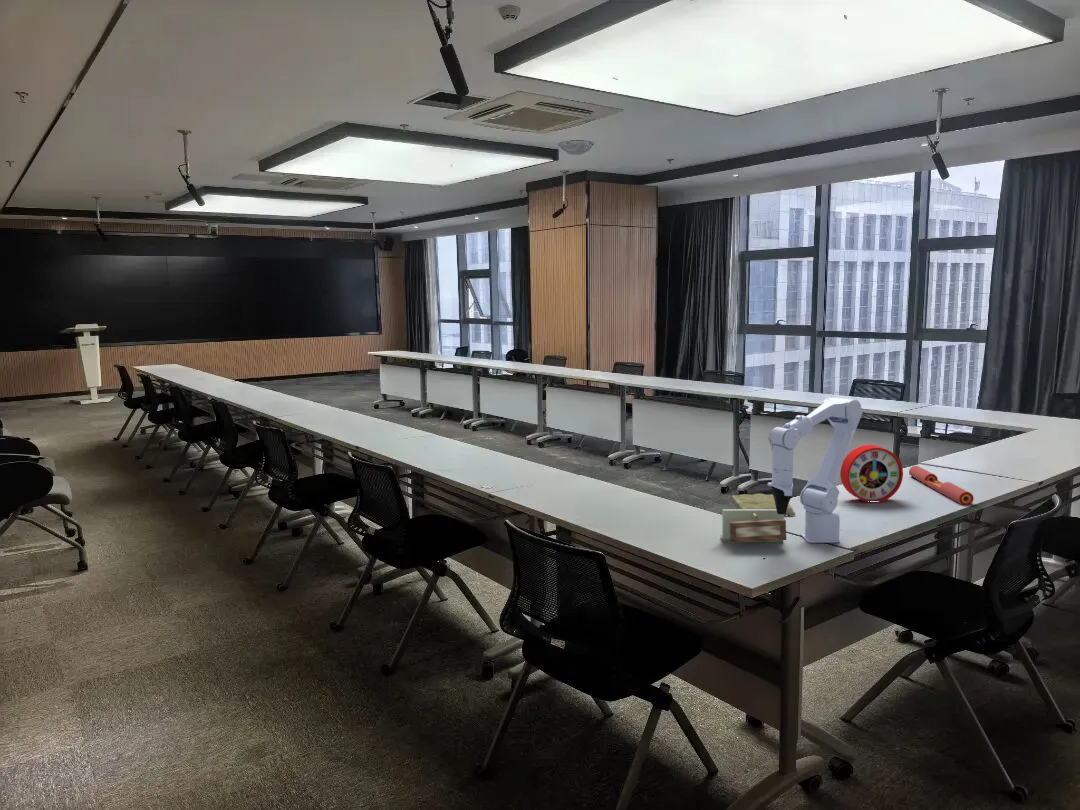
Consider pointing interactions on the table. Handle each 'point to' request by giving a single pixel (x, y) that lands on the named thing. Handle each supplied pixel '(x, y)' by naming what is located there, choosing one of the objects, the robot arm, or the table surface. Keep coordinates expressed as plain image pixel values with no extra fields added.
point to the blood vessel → (942, 486)
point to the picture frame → (757, 530)
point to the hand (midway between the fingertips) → (781, 513)
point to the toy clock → (871, 473)
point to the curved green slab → (746, 519)
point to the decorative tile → (757, 502)
